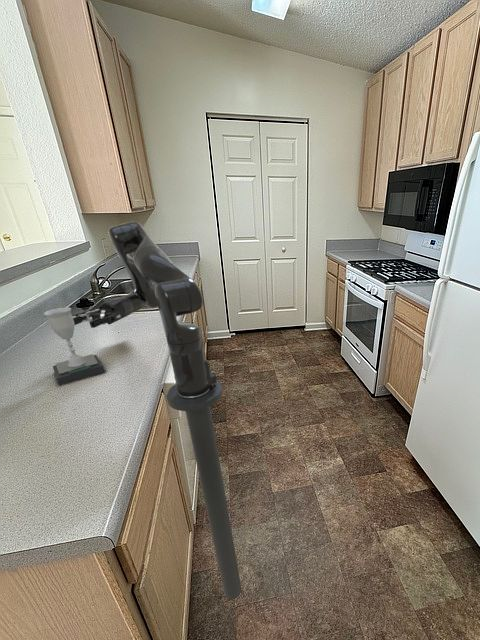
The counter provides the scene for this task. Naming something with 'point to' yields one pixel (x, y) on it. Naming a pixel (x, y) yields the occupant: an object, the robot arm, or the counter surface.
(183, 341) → the robot arm
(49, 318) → the chalice
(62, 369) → the pan
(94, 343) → the counter surface
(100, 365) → the scale
